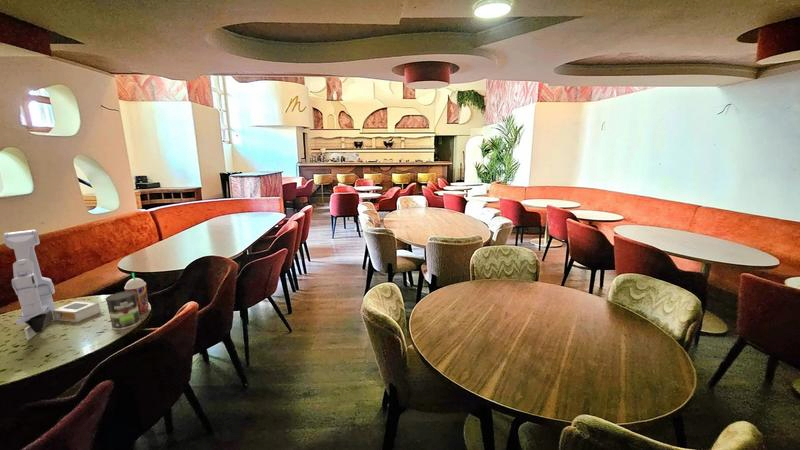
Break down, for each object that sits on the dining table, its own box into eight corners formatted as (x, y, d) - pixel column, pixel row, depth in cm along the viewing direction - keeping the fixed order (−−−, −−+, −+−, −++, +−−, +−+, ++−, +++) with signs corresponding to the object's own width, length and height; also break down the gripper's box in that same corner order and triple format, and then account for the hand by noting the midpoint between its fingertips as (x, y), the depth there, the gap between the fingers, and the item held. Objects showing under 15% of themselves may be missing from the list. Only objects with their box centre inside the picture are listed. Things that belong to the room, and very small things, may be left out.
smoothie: (154, 310, 163) (146, 271, 159) (133, 317, 156) (125, 277, 152) (146, 306, 168) (139, 269, 163) (126, 312, 161) (118, 274, 156)
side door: (53, 319, 155) (51, 309, 154) (29, 339, 138) (26, 328, 137) (51, 319, 154) (48, 310, 153) (27, 339, 137) (24, 329, 136)
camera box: (78, 310, 165) (76, 300, 164) (101, 312, 162) (98, 302, 161) (54, 319, 155) (51, 309, 154) (78, 322, 152) (75, 311, 151)
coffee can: (143, 323, 150) (137, 294, 147) (114, 332, 143) (107, 302, 140) (138, 316, 157) (133, 288, 154) (110, 324, 150) (104, 295, 147)
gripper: (33, 296, 144) (41, 324, 147) (2, 311, 130) (12, 342, 133) (52, 294, 145) (60, 322, 148) (24, 309, 131) (33, 340, 134)
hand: (38, 332), depth 141 cm, fingers closed
